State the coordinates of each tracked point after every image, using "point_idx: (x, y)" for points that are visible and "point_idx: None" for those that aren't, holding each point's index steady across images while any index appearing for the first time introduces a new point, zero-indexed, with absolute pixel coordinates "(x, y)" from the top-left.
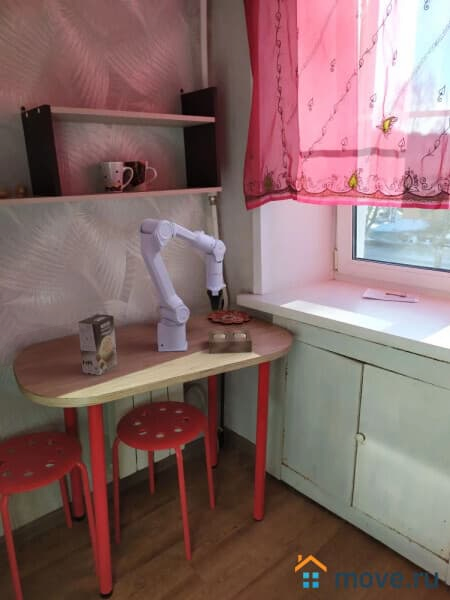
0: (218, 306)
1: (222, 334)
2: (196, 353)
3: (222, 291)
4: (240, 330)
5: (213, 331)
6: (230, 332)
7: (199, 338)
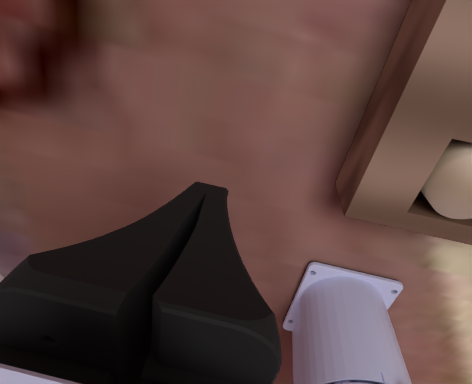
0: (226, 205)
1: (461, 165)
2: (447, 258)
3: (129, 293)
4: (458, 1)
5: (368, 196)
6: (452, 100)
7: (274, 208)
